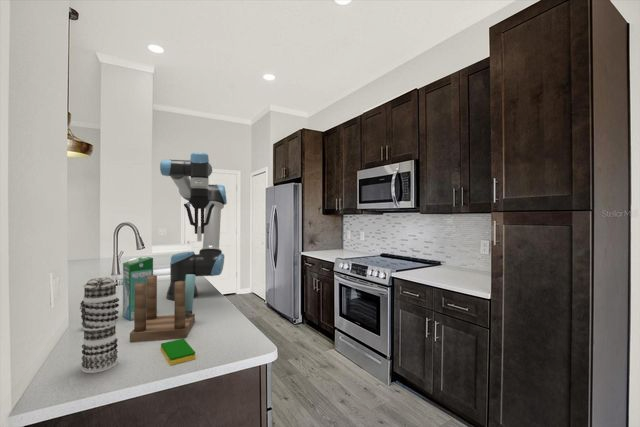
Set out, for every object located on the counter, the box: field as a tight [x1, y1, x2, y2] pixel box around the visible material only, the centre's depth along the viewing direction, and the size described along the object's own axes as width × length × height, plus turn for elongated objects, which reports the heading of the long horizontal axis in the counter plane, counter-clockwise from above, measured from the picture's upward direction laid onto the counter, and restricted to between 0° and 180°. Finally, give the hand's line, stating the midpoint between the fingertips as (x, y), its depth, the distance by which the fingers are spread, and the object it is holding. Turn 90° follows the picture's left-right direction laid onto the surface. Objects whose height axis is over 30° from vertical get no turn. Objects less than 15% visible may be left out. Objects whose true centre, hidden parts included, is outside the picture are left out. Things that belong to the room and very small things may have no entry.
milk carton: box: [122, 255, 154, 322], centre depth 137 cm, size 9×9×25 cm
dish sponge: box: [160, 338, 196, 366], centre depth 100 cm, size 7×14×2 cm, turn 37°
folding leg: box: [185, 274, 197, 312], centre depth 127 cm, size 4×4×14 cm
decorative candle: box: [79, 277, 120, 374], centre depth 92 cm, size 9×9×25 cm
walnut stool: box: [129, 274, 196, 343], centre depth 120 cm, size 19×18×19 cm
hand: (199, 241), depth 141 cm, fingers closed
